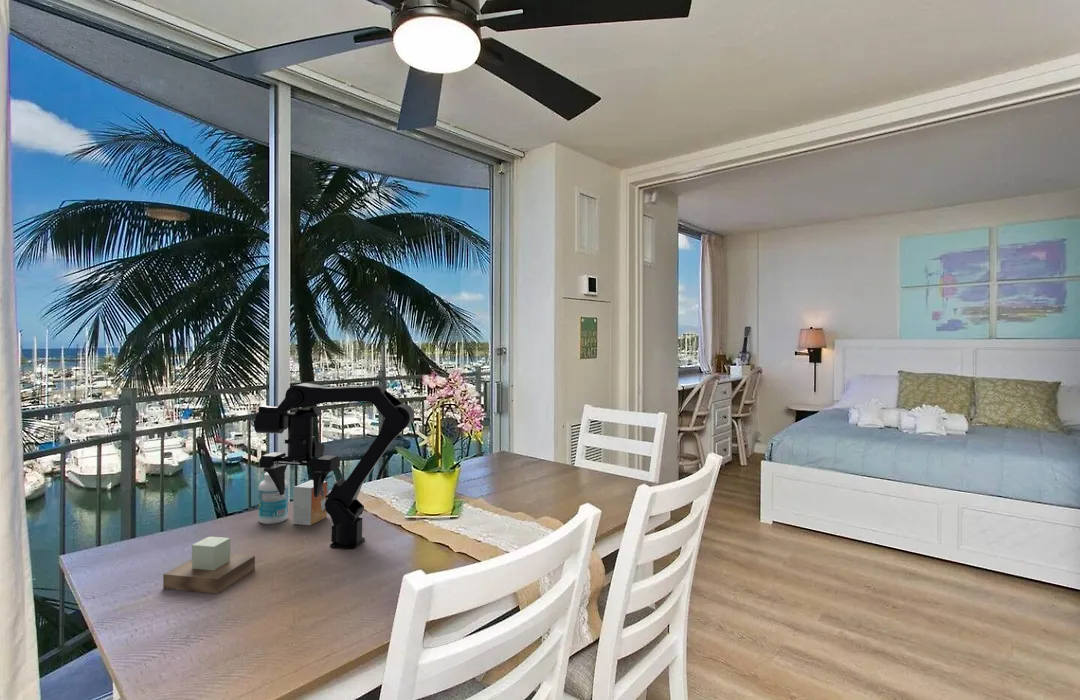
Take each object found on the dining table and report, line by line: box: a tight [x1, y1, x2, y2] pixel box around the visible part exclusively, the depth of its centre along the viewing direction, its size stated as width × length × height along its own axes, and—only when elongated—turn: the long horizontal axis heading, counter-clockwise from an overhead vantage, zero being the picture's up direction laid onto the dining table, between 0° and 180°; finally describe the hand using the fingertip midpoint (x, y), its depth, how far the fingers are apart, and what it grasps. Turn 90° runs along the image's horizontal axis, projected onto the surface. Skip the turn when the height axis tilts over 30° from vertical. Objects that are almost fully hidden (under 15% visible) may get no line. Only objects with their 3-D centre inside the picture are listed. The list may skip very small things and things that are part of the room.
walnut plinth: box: [162, 553, 256, 594], centre depth 119 cm, size 12×12×3 cm
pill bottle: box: [257, 471, 289, 525], centre depth 156 cm, size 8×7×14 cm
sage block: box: [191, 535, 231, 570], centre depth 119 cm, size 5×5×5 cm
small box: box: [292, 479, 328, 526], centre depth 157 cm, size 8×6×10 cm
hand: (299, 495), depth 140 cm, fingers open, 9 cm apart
